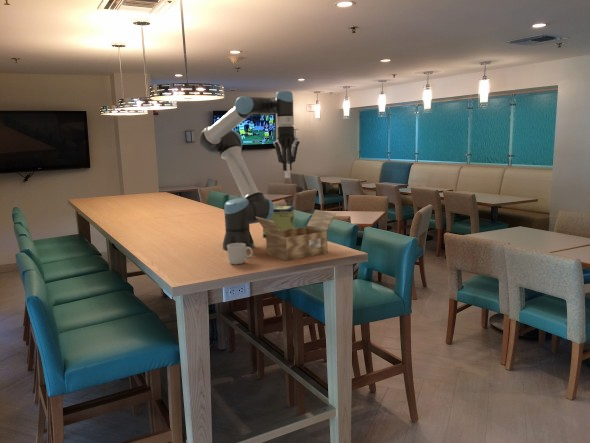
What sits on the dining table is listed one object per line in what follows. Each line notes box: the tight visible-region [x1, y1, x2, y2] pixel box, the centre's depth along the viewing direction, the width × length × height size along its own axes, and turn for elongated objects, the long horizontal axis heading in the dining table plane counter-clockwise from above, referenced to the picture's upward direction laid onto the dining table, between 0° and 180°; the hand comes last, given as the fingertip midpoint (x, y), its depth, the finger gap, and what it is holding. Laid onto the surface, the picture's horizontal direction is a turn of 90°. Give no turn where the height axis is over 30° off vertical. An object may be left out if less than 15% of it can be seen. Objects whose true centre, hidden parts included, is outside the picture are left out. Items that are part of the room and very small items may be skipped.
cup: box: [226, 243, 254, 265], centre depth 203 cm, size 11×8×8 cm
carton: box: [265, 226, 328, 262], centre depth 217 cm, size 22×18×10 cm
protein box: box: [262, 205, 295, 238], centre depth 259 cm, size 10×16×16 cm
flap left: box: [256, 217, 284, 237], centre depth 208 cm, size 1×16×9 cm
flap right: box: [306, 209, 336, 232], centre depth 222 cm, size 1×16×9 cm
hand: (287, 177), depth 222 cm, fingers closed
